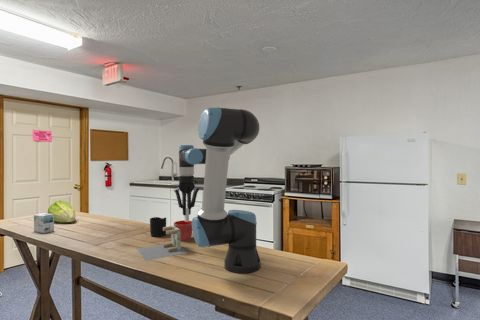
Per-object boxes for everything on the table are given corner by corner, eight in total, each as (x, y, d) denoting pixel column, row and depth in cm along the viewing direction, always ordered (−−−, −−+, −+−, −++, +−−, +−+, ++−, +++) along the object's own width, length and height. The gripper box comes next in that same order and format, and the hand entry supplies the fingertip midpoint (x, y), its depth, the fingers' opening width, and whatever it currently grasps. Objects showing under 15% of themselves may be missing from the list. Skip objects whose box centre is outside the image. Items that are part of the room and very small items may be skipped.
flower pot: (189, 242, 158) (189, 224, 158) (170, 241, 161) (170, 224, 161) (196, 237, 169) (196, 220, 169) (178, 236, 171) (178, 220, 171)
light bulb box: (54, 231, 186) (54, 214, 186) (43, 233, 180) (43, 215, 180) (44, 229, 191) (44, 212, 191) (33, 231, 185) (33, 214, 185)
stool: (180, 250, 144) (180, 229, 144) (168, 252, 141) (168, 231, 141) (174, 245, 153) (174, 225, 153) (162, 246, 150) (162, 227, 150)
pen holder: (163, 232, 181) (163, 216, 181) (168, 235, 173) (168, 218, 173) (147, 234, 176) (147, 218, 176) (152, 238, 168) (152, 220, 168)
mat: (188, 253, 140) (188, 253, 140) (145, 261, 130) (145, 260, 130) (176, 243, 157) (176, 242, 157) (136, 249, 148) (136, 248, 148)
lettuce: (82, 228, 215) (58, 235, 203) (68, 212, 229) (45, 218, 217) (82, 210, 210) (57, 216, 198) (68, 196, 224) (44, 201, 212)
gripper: (196, 174, 157) (196, 218, 158) (171, 175, 151) (172, 221, 151) (201, 175, 151) (201, 221, 151) (176, 176, 144) (176, 224, 145)
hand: (186, 221), depth 151 cm, fingers closed
